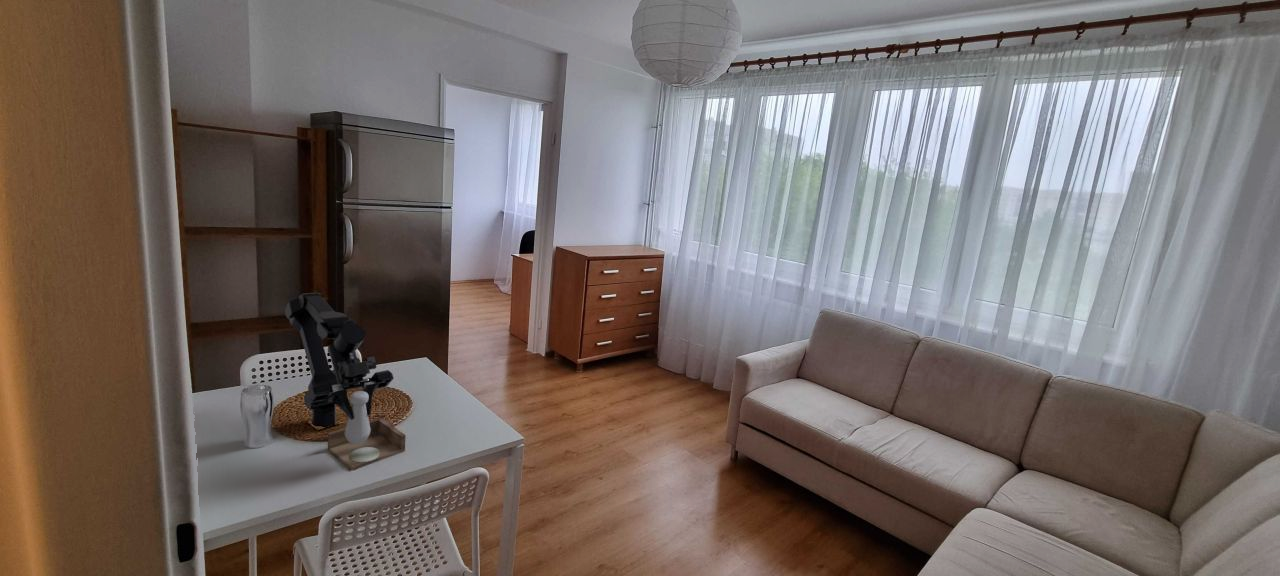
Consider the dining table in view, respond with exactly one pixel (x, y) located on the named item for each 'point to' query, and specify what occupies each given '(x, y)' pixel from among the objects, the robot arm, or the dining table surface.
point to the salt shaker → (358, 419)
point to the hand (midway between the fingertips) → (360, 417)
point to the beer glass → (257, 414)
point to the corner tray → (367, 445)
